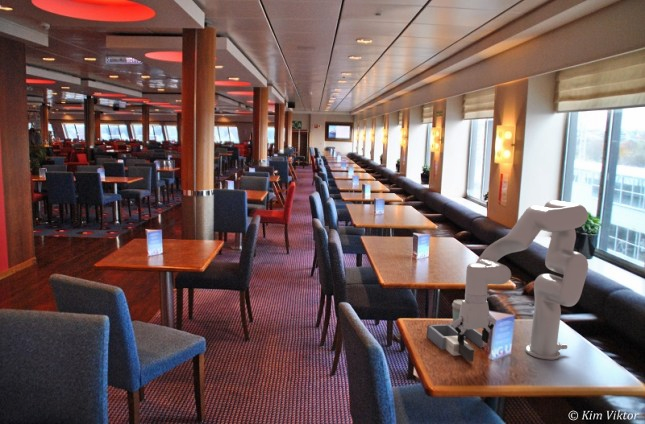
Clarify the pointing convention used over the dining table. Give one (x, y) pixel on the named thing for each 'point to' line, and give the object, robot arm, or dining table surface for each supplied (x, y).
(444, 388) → the dining table surface
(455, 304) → the coffee cup
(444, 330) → the lane rack
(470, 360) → the cream block
